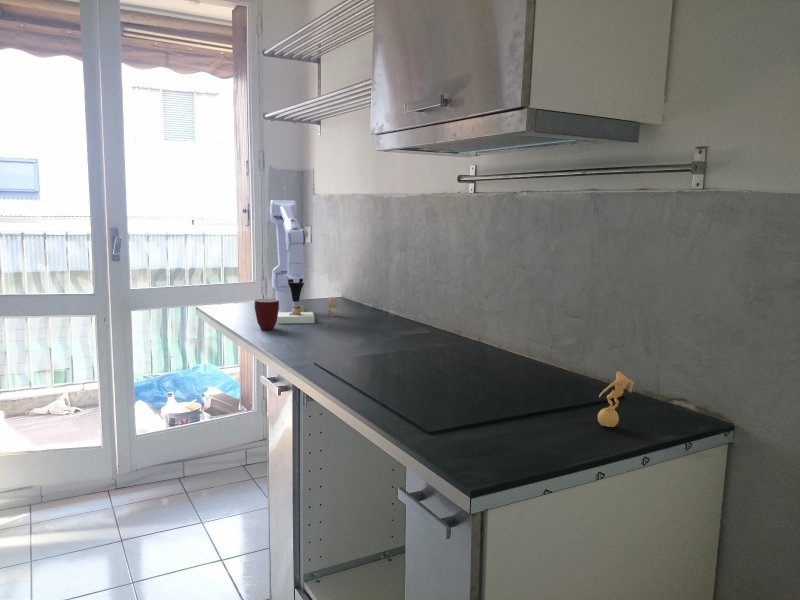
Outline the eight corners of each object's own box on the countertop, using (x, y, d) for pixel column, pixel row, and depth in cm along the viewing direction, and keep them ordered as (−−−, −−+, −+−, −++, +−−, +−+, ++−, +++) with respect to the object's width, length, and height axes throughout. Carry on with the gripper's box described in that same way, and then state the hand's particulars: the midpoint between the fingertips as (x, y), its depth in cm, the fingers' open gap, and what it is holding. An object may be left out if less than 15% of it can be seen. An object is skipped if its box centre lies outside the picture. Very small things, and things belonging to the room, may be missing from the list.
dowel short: (297, 315, 234) (297, 305, 234) (305, 315, 235) (305, 305, 234) (297, 317, 232) (297, 306, 231) (305, 317, 232) (305, 306, 232)
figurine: (615, 421, 125) (619, 364, 123) (638, 431, 119) (643, 371, 117) (584, 426, 121) (588, 368, 119) (606, 437, 116) (611, 376, 114)
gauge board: (277, 319, 227) (277, 312, 226) (312, 318, 229) (312, 312, 229) (277, 323, 218) (277, 316, 218) (314, 323, 221) (314, 316, 220)
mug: (250, 326, 212) (249, 298, 210) (272, 325, 215) (272, 297, 214) (258, 332, 202) (258, 302, 201) (282, 330, 206) (282, 301, 205)
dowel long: (328, 315, 237) (328, 297, 236) (336, 315, 237) (336, 297, 236) (329, 316, 234) (329, 298, 233) (336, 316, 235) (337, 298, 233)
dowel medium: (293, 320, 225) (293, 305, 224) (301, 320, 225) (301, 305, 224) (291, 321, 222) (291, 306, 221) (299, 321, 222) (299, 307, 221)
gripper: (283, 260, 226) (284, 296, 229) (284, 264, 212) (284, 303, 215) (303, 261, 228) (303, 296, 230) (305, 265, 214) (304, 303, 216)
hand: (295, 299), depth 222 cm, fingers open, 7 cm apart
